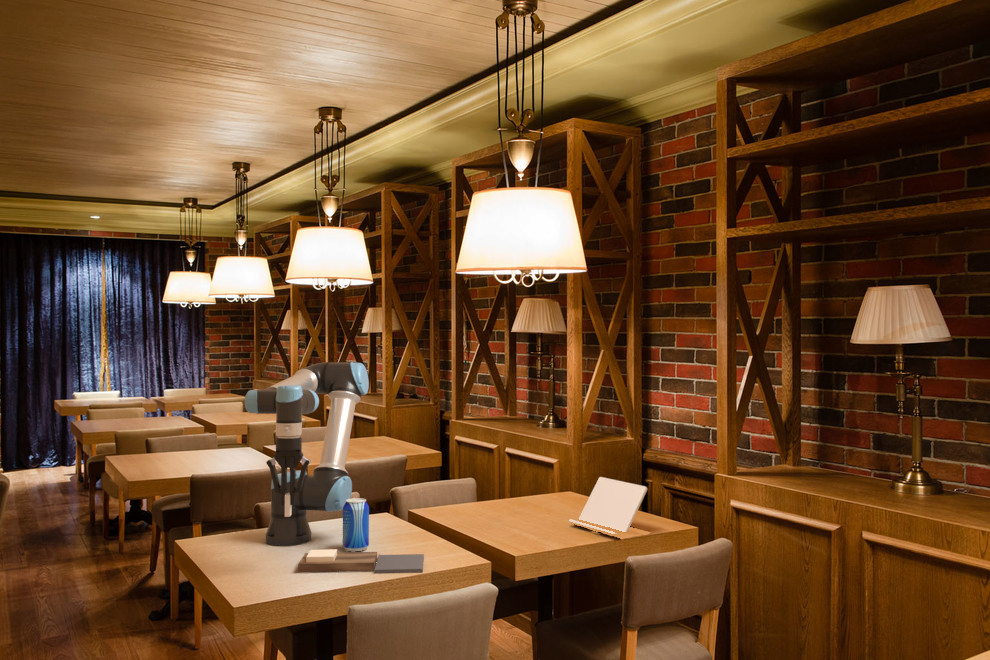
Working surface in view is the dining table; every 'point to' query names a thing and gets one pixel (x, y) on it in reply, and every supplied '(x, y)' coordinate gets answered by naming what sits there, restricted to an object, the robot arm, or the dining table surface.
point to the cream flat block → (321, 555)
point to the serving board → (341, 563)
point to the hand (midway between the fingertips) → (288, 515)
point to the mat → (399, 563)
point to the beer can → (355, 525)
